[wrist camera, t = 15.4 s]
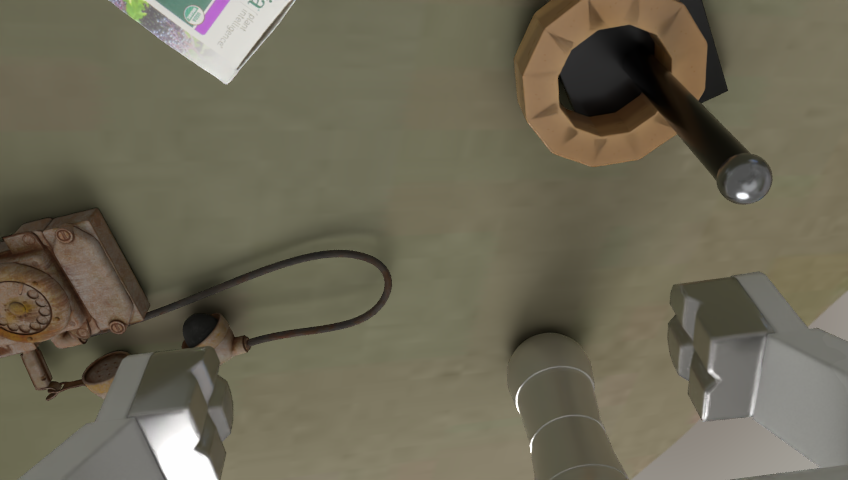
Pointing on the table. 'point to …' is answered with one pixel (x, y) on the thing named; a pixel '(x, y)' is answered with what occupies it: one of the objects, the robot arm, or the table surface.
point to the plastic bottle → (561, 410)
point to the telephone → (108, 298)
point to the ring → (634, 123)
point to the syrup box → (210, 28)
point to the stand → (664, 100)
